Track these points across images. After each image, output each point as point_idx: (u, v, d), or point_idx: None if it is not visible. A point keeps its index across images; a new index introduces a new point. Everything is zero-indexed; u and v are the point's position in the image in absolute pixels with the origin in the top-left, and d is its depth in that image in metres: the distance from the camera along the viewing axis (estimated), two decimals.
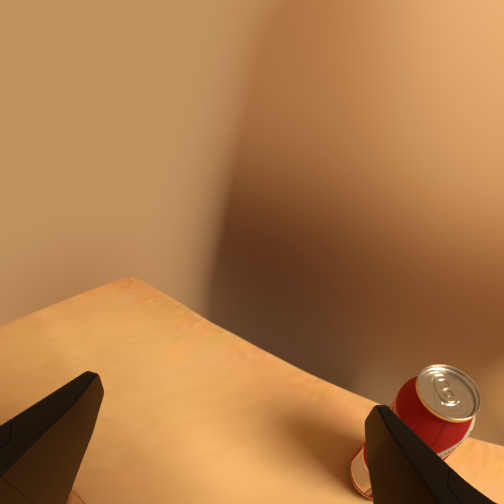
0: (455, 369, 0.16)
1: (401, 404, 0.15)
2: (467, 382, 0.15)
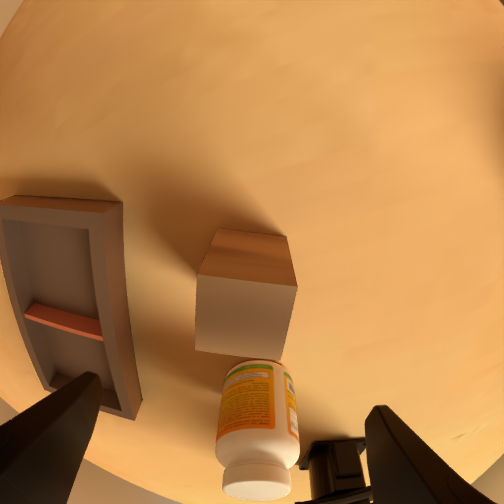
0: None
1: None
2: None
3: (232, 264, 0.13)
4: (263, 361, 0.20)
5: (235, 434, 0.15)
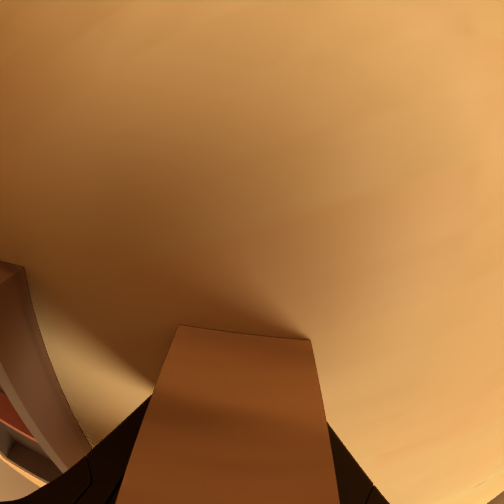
0: None
1: None
2: None
3: (196, 472, 0.04)
4: None
5: None
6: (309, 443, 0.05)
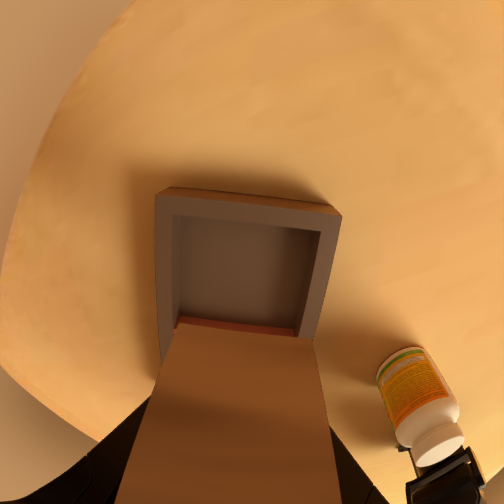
0: None
1: None
2: None
3: (196, 470, 0.04)
4: (415, 347, 0.21)
5: (425, 407, 0.15)
6: (310, 442, 0.05)
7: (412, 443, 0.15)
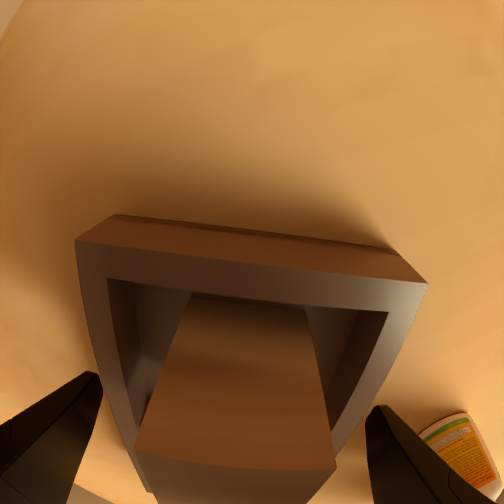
0: None
1: None
2: None
3: (207, 411, 0.06)
4: (459, 415, 0.14)
5: None
6: (304, 390, 0.07)
7: None
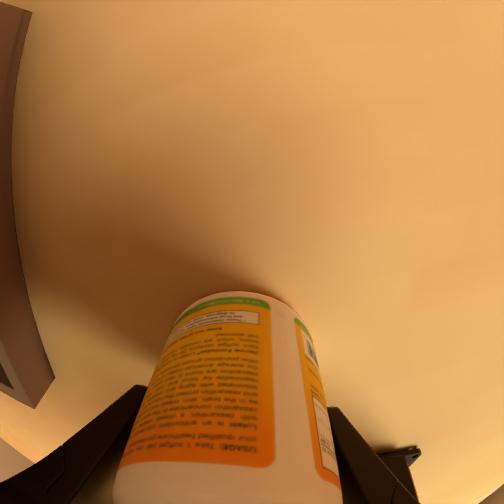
0: None
1: None
2: None
3: None
4: (248, 293, 0.10)
5: (147, 472, 0.04)
6: None
7: None
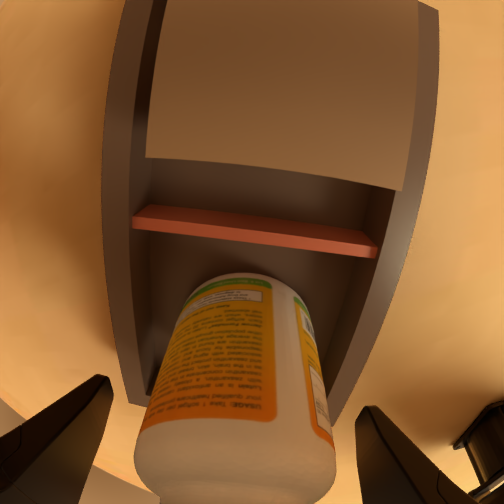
0: None
1: None
2: None
3: None
4: (252, 274, 0.11)
5: (168, 429, 0.05)
6: None
7: None
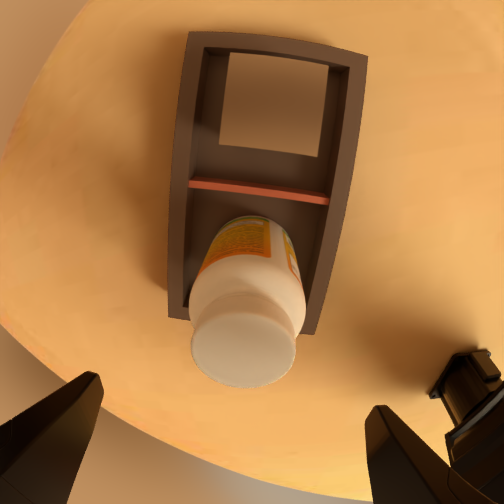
0: None
1: None
2: None
3: None
4: (258, 216, 0.18)
5: (217, 263, 0.13)
6: None
7: None
